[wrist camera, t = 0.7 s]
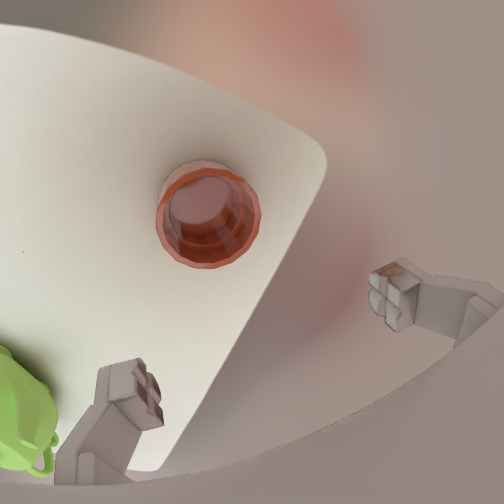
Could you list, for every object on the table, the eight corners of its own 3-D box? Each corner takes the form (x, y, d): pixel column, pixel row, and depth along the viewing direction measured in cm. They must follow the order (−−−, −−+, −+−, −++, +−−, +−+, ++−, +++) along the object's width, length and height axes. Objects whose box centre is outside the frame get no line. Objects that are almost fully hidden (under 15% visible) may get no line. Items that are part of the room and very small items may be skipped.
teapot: (-44, 303, 18) (-95, 382, 7) (61, 345, 24) (36, 452, 13) (-22, 392, 22) (-43, 462, 11) (63, 425, 28) (57, 503, 17)
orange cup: (146, 175, 20) (141, 188, 16) (231, 149, 21) (248, 155, 17) (173, 253, 23) (176, 281, 19) (250, 228, 24) (269, 250, 20)
